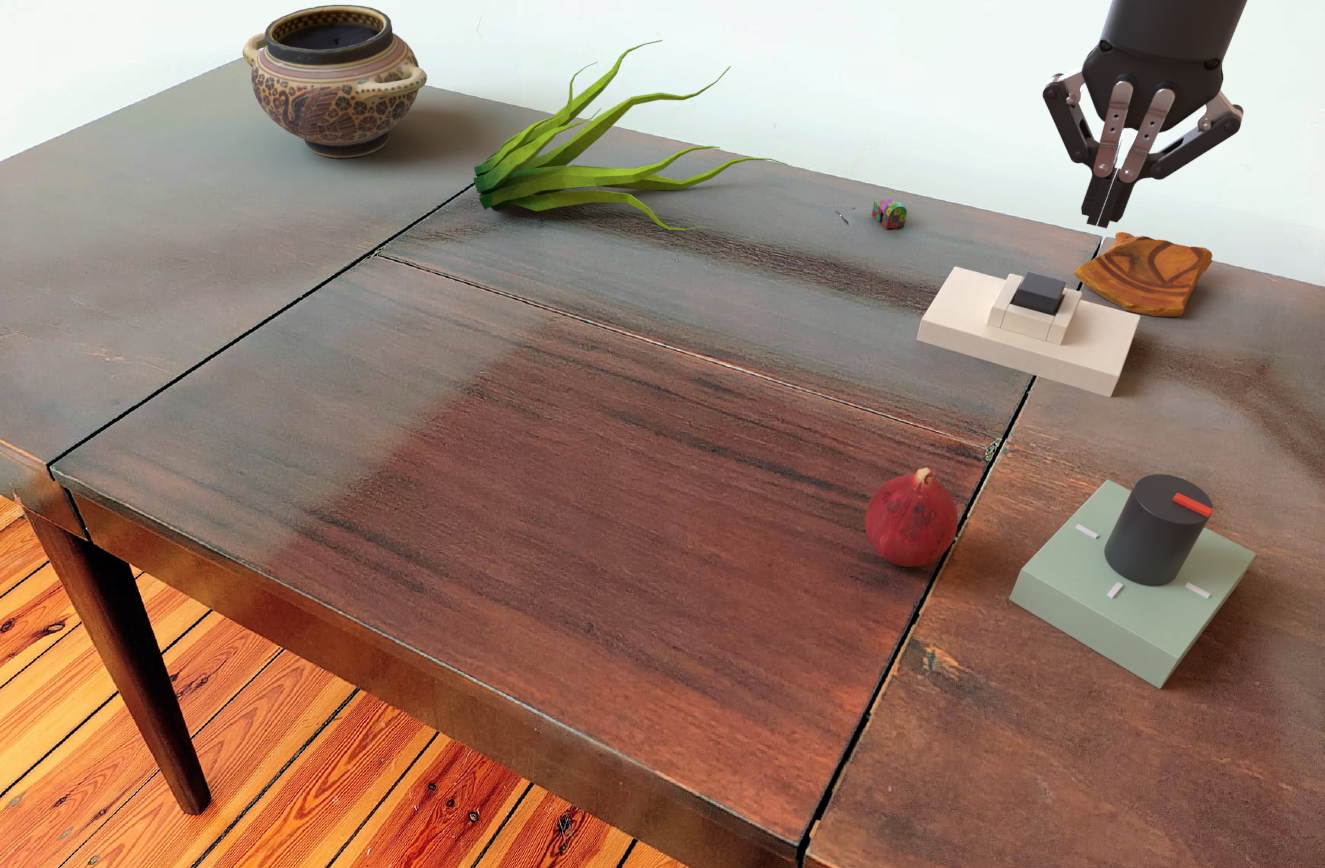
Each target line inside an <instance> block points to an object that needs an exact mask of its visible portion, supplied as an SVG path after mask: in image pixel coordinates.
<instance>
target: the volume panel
mask: <svg viewBox="0 0 1325 868" xmlns="http://www.w3.org/2000/svg"><path fill="white" fill-rule="evenodd" d="M1131 491H1132V490H1130V489H1128V488H1127V487H1125V486H1122V485H1121V484H1119V483H1117V482H1114V481H1113V480H1110V479H1106V480H1105V481H1104V482H1103V483H1102V484H1101V485H1100V486H1099V487H1098V489H1096V491H1095V492H1093V494H1092V495H1091V496H1089V498H1088V499H1087V500H1086V501H1085V502H1084V503H1083V504H1082V505H1081V506H1080V507H1079V508H1078V509H1077V510H1076V511H1075V512H1074V513H1073V514H1072V515H1071V517H1070V518H1068V519H1067V521H1066V522H1065V523H1064V524H1063V525H1062V526H1061V527H1060V528H1058V530H1057V531H1056V532H1055V533H1054V534H1053V535H1052V536H1051V538H1049V539H1048V540H1047V542H1046V543H1045V544H1044V545H1042V547H1040V549H1039V550H1038V551H1037V552H1036V553H1035V554H1034V555H1033V556H1032V557H1031V558H1030V559H1029V560H1028V561H1027V562H1026V563H1025V565H1024V566H1022V567H1021V569H1020V572H1019V574H1018V576H1017V579H1016V581H1015V584H1014V586H1013V588H1012V590H1011V594H1010V595H1009V598H1008V600H1009V601H1010V602H1012V603H1014V604H1016V605H1017V606H1018V607H1020V608H1022V609H1024V610H1026V611H1027V612H1029V613H1031V614H1032V615H1034V616H1036V617H1037V618H1039V619H1041V620H1042V621H1044V622H1045V623H1047V624H1048V625H1051V626H1053V627H1054V628H1056V629H1058V630H1059V631H1061V632H1062V633H1064V634H1066V635H1068V636H1069V637H1071V638H1073V639H1074V640H1076V641H1078V642H1079V643H1081V644H1083V645H1085V646H1086V647H1088V648H1090V649H1091V650H1093V651H1095V652H1096V653H1098V654H1100V655H1101V656H1103V657H1105V658H1107V659H1109V660H1110V661H1112V662H1113V663H1115V664H1116V665H1118V666H1120V667H1122V668H1123V669H1124V670H1127V671H1129V672H1130V673H1132V674H1133V675H1135V676H1137V677H1138V678H1140V679H1142V680H1143V681H1145V682H1147V683H1148V684H1150V685H1152V686H1154V687H1155V688H1157V689H1159V690H1161V689H1162V688H1163V687H1164V685H1165V684H1166V682H1167V681H1168V680H1169V679H1170V677H1171V676H1172V674H1173V673H1174V671H1175V670H1176V669H1177V667H1178V666H1179V665H1180V663H1181V662H1182V661H1183V659H1184V658H1186V657H1185V656H1186V655H1187V654H1188V653H1189V651H1190V650H1191V649H1192V647H1193V646H1194V644H1195V643H1196V642H1197V640H1198V639H1199V638H1200V636H1201V635H1202V633H1204V631H1205V629H1206V628H1207V627H1208V626H1209V624H1210V623H1211V622H1212V620H1213V619H1214V617H1215V616H1216V615H1217V613H1218V612H1219V611H1220V609H1221V608H1222V607H1223V605H1224V604H1225V603H1226V602H1227V600H1228V599H1229V597H1230V596H1231V594H1232V593H1233V592H1234V591H1235V589H1236V588H1237V586H1238V585H1239V584H1240V582H1241V580H1242V579H1243V577H1244V576H1245V574H1246V572H1247V571H1248V569H1249V568H1250V566H1251V565H1252V563H1253V562H1254V559H1255V558H1256V556H1257V555H1258V553H1257V552H1256V551H1253V550H1250V549H1249V548H1246V547H1244V546H1242V545H1241V544H1238V543H1237V542H1235V541H1233V540H1230V539H1228V538H1226V537H1225V536H1222V535H1221V534H1219V533H1217V532H1214V531H1213V530H1210V529H1209V528H1207V527H1204V528H1203V530H1202V532H1201V534H1200V536H1199V537H1198V539H1197V541H1196V543H1195V544H1194V546H1193V548H1192V550H1191V551H1190V553H1189V555H1188V557H1187V558H1186V560H1185V562H1184V564H1183V566H1182V567H1181V569H1180V571H1179V573H1178V574H1177V576H1176V578H1175V579H1174V580H1173V581H1171V582H1169V583H1167V584H1164V585H1160V586H1149V585H1143V584H1139V583H1135V582H1133V581H1130V580H1128V579H1126V578H1124V577H1123V576H1121V575H1120V574H1118V573H1117V572H1116V571H1115V570H1114V569H1113V568H1112V567H1111V566H1110V565H1109V564H1108V562H1107V560H1106V558H1105V554H1104V548H1105V545H1106V543H1107V541H1108V539H1109V537H1110V535H1111V533H1112V531H1113V529H1114V527H1115V524H1116V522H1117V520H1118V518H1119V516H1120V514H1121V512H1122V510H1123V508H1124V506H1125V504H1126V502H1127V500H1128V497H1129V495H1130V493H1131Z"/></svg>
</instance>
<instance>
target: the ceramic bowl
mask: <svg viewBox="0 0 1325 868" xmlns="http://www.w3.org/2000/svg"><path fill="white" fill-rule="evenodd" d="M242 57H243V59H244V60H245V62H246V63H247V64H248V65H249V66H250V67H251V84H252V91H253V93H254V96H255V98H256V100H257V102H258V104H259V105H260V108H261V109H263V111H264V112H265V113H266V115H267V116H268V117H269V118H270V119H271V121H273V122H274V123H275V124H277V125H278V126H279V127H280V128H282V129H283V130H284V131H286V132H288V133H289V134H291V135H293V136H296V137H298V138H300V139H303V140H304V142H305V146H306V147H307V148H308V149H309V150H310V151H311V152H312V153H314V154H316V155H319V156H323V157H328V158H333V159H341V158H342V159H348V158H356V157H363V156H366V155H370V154H372V153H375V152H376V151H378V150H380V149H382V148H383V147H384V146H385V145H386V144H387V143H388V141H389V140H390V131H391V130H392V129H393V128H394V127H395V126H397V125H398V124H399V123H400V122H402V120H403V119H404V118H405V116H406V115H407V114H408V113H409V111H410V110H411V109H412V106H413V104H414V103H415V102H416V99H417V96H418V93H419V90H420V89H422V88H423V87H424V86H425V85H426V83H427V81H428V74H427V73H426V71H424V69H423V68H420V66H419V62H418V59H417V57H416V54H415V53H414V50H413V49H412V47H410V45H409V44H408V43H407V42H406V41H405V40H404V39H402V37H400V36H399V35H398V34H396V33H394V32H393V26H392V20H391V18H390V17H389V16H388V15H387V14H386V13H384V12H382V11H381V10H379V9H376V8H374V7H370V6H365V5H357V4H327V5H318V6H313V7H308V8H304V9H300V10H296V11H293V12H291V13H289V14H285V15H283V16H281V17H278V18H277V19H275V20H272V21H271V23H270V24H268V26H267V27H266V29H265V32H261V33H257V34H255V35H254V36H252V37H251V38H249V39H248V40H247V41H246V43H245V44H244V45H243V48H242Z"/></svg>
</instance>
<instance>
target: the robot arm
mask: <svg viewBox="0 0 1325 868" xmlns="http://www.w3.org/2000/svg"><path fill="white" fill-rule="evenodd" d="M1247 4H1248V0H1111V2H1110V6H1109V8H1108V11H1107V15H1106V18H1105V21H1104V23H1103V27H1102V30H1101V33H1100V36H1099V39H1098V41H1097V44H1096V46H1095V47H1093V49H1092V50H1091V51H1090V52H1089V53H1088V54H1087V56H1086V58H1085V59H1084V61H1083V63H1082V66H1080V67H1077V68H1075V69H1073V70H1071V71H1068V72H1067V73H1061V72H1059V73H1055V74H1054V75H1052V76H1051V78H1050V79H1049V80H1048V81H1047V83H1046V85H1045V87H1044V89H1043V91H1042V99H1043V101H1044V103H1045V105H1046V107H1047V110H1048V112H1049V115H1050V116H1051V119H1052V121H1053V123H1054V125H1055V128H1056V130H1057V131H1058V134H1059V137H1060V138H1061V141H1062V143H1063V145H1064V147H1065V149H1066V152H1067V155H1068V157H1069V158H1070V161H1071V162H1073V163H1074V164H1083V165H1085V166H1086V167H1088V168H1089V169H1090V171H1091V178H1090V181H1089V183H1088V186H1087V189H1086V193H1085V195H1084V198H1083V201H1082V203H1081V206H1080V211H1081V215H1082V216H1086V217H1088V218H1087V220H1086V225H1090V226H1094V227H1098V228H1102V229H1108V228H1109V227H1108V226H1109V225H1110V222H1112V223H1118V222H1119V221H1120V220H1121V219H1122V218H1123V217H1124V214H1125V211H1126V208H1127V205H1128V203H1129V200H1130V198H1131V195H1132V193H1133V189H1134V188H1135V186H1136V184H1137V183H1139V181H1141V180H1144V179H1154V180H1157V181H1161V180H1165V179H1166V178H1167V177H1169V176H1170V175H1172V174H1175V172H1177V171H1178V170H1180V169H1182V168H1183V167H1185V166H1186V165H1188V164H1189V163H1191V162H1193V161H1194V160H1196V159H1198V158H1200V157H1201V156H1203V155H1204V154H1206V153H1207V152H1209V151H1211V150H1212V149H1213V148H1215V147H1216V146H1218V145H1220V144H1222V143H1224V142H1225V141H1226V140H1228V139H1229V138H1231V137H1232V136H1235V134H1237V133H1238V132H1239V131H1240V129H1241V125H1242V121H1243V117H1244V108H1243V107H1242V106H1241V105H1240V104H1237V103H1236V104H1235V103H1233V104H1232V103H1231V101H1230V100H1229V99H1228V97H1227V96H1226V95H1225V94H1224V92H1223V91H1222V90H1221V89H1222V87H1223V83H1224V71H1223V62H1224V59H1225V56H1226V54H1227V52H1228V49H1229V47H1230V45H1231V43H1232V39H1233V37H1234V36H1235V32H1236V30H1237V27H1238V25H1239V22H1240V20H1241V17H1242V15H1243V13H1244V10H1245V7H1246V5H1247ZM1084 84H1085V86H1086V89H1087V91H1088V94H1089V97H1090V99H1091V102H1092V105H1093V107H1094V111H1095V112H1096V115H1097V116H1098V118H1099V119H1100V120H1101V121H1102V122H1103V123H1104V124H1103V127H1102V131H1101V136H1100V139H1099V141H1097V140H1096V139H1095V137H1094V135H1093V133H1092V130H1091V128H1090V127H1089V126H1090V125H1089V124H1088V122H1087V120H1086V116H1085V115H1084V112H1083V109H1082V108H1081V105H1080V101H1081V99H1082V98H1083V96H1084V88H1083V87H1084ZM1204 106H1205V107H1206V108H1205V109H1204V110H1203V111H1202V112H1201V113H1200V114H1199V117H1198V119H1197V126H1195V127H1194V128H1192V129H1190V130H1189V131H1188V132H1186V133H1184V134H1183V135H1181V136H1179V138H1177V139H1175V140H1173V141H1172V142H1170V143H1169V144H1168V145H1166V146H1164V147H1163V148H1162V149H1160V150H1158V151H1157V152H1151V149H1152V147H1153V146H1154V144H1155V141H1156V140H1157V137H1158V135H1159V134H1161V133H1165V132H1168V131H1170V130H1171V129H1173V128H1175V127H1176V126H1177V125H1179V124H1180V123H1181V122H1183V121H1184V120H1186V119H1187V118H1188V117H1190V116H1191V115H1193V114H1194V113H1196V112H1197V111H1199V110H1200V109H1201V108H1203V107H1204ZM1126 129H1132V130H1134V131H1136V133H1135V135H1134V138H1133V139H1132V142H1131V144H1130V147H1129V149H1128V151H1127V152H1126V156H1125V157H1124V160H1123V162H1122V165H1121V167H1120V168H1118V167H1116V165H1117V164H1118V163H1117V162H1118V158H1119V154H1120V150H1121V146H1122V143H1123V140H1124V135H1125V132H1126Z"/></svg>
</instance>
